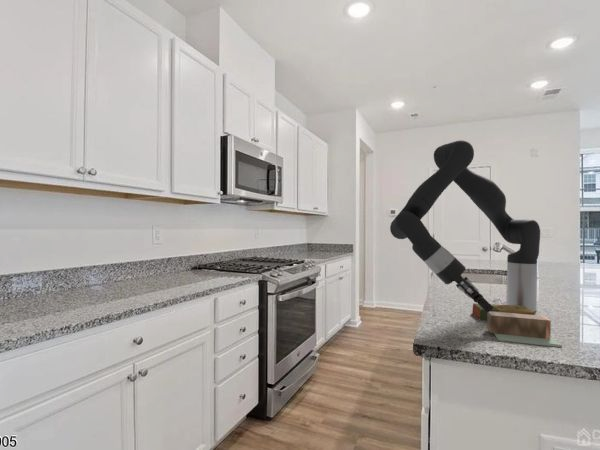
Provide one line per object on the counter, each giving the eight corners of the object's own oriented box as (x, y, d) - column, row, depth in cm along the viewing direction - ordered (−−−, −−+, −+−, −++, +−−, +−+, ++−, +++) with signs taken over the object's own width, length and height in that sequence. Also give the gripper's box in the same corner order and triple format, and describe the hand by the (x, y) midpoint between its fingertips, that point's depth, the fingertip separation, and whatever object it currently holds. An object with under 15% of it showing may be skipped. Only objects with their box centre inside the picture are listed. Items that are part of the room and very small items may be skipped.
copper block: (490, 315, 93) (550, 320, 89) (487, 311, 98) (544, 315, 93) (490, 333, 93) (550, 339, 89) (487, 328, 98) (543, 333, 93)
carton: (535, 325, 105) (535, 311, 105) (479, 321, 109) (479, 308, 109) (523, 317, 114) (523, 305, 113) (472, 314, 117) (472, 302, 117)
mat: (498, 340, 89) (498, 338, 89) (489, 326, 102) (489, 324, 102) (561, 347, 85) (561, 344, 85) (543, 332, 97) (543, 330, 97)
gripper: (456, 258, 93) (506, 306, 89) (451, 254, 105) (495, 296, 101) (435, 276, 94) (483, 324, 90) (433, 270, 107) (476, 312, 103)
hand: (490, 309), depth 96 cm, fingers closed
